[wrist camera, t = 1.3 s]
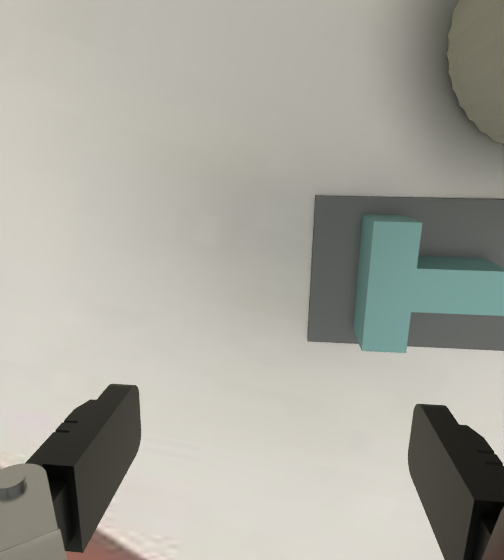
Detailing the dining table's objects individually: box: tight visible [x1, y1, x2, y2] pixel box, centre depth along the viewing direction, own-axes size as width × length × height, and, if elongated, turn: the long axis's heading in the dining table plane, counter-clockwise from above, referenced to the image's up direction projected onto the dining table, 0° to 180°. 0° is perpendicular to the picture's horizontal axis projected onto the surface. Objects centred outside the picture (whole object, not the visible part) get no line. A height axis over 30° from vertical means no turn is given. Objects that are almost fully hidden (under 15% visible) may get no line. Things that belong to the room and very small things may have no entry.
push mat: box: [308, 195, 504, 351], centre depth 31 cm, size 12×28×1 cm, turn 89°
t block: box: [353, 214, 504, 353], centre depth 29 cm, size 9×9×4 cm
